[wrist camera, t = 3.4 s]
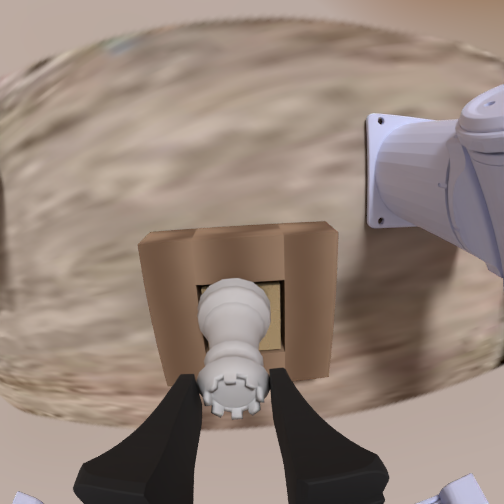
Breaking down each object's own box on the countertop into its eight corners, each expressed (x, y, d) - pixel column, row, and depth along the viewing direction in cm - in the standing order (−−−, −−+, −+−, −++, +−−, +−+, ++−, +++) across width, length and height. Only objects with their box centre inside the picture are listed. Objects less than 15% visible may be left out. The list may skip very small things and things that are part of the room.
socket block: (325, 221, 21) (338, 232, 18) (319, 354, 25) (328, 376, 22) (150, 232, 21) (137, 244, 18) (173, 362, 24) (167, 386, 22)
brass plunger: (277, 278, 20) (279, 284, 19) (279, 340, 22) (280, 348, 21) (202, 282, 20) (201, 289, 19) (210, 344, 22) (209, 352, 21)
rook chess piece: (230, 347, 21) (228, 443, 13) (183, 302, 19) (157, 393, 12) (284, 311, 20) (308, 402, 12) (239, 259, 18) (240, 341, 11)
